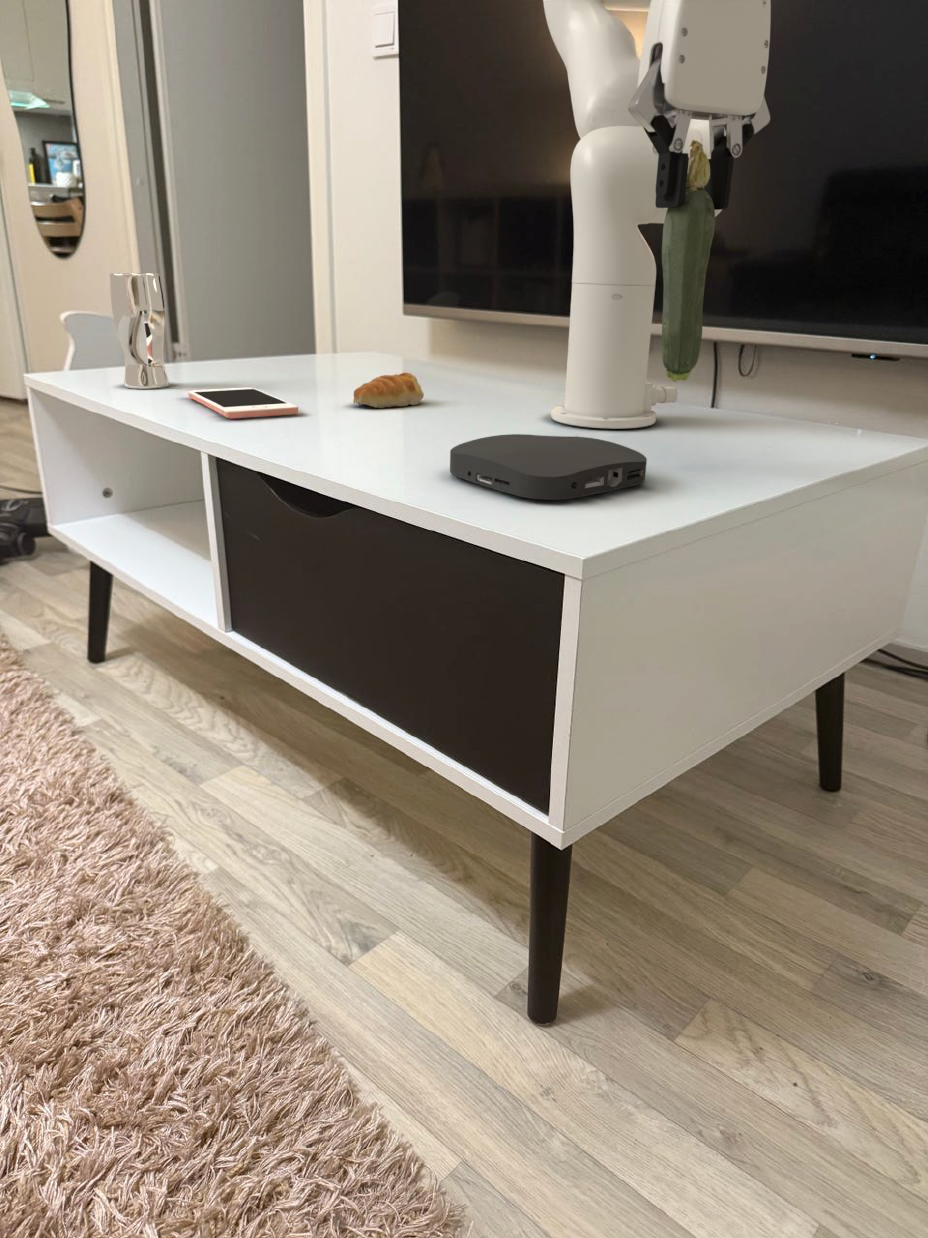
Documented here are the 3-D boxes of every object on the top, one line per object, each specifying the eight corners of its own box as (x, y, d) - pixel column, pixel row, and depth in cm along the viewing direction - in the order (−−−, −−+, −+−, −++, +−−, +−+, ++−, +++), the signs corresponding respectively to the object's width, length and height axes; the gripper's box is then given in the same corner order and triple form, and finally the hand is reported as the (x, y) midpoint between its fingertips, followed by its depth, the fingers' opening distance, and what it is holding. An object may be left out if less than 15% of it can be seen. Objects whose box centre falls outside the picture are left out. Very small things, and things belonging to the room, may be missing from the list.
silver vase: (111, 388, 126) (97, 273, 121) (136, 381, 133) (124, 272, 127) (158, 390, 125) (146, 274, 120) (181, 383, 132) (170, 273, 126)
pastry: (376, 411, 113) (376, 380, 111) (340, 405, 117) (339, 375, 115) (427, 403, 119) (427, 373, 118) (391, 398, 123) (391, 369, 122)
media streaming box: (549, 455, 91) (550, 425, 89) (663, 484, 80) (666, 450, 79) (432, 473, 82) (432, 440, 81) (542, 509, 71) (544, 472, 70)
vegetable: (697, 386, 81) (726, 134, 73) (648, 384, 82) (672, 134, 74) (695, 380, 85) (723, 140, 77) (649, 378, 86) (671, 141, 78)
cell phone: (227, 419, 105) (226, 410, 104) (187, 397, 119) (186, 390, 119) (299, 414, 109) (299, 406, 109) (252, 393, 123) (252, 386, 123)
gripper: (766, -22, 77) (737, 213, 84) (601, -52, 71) (585, 205, 77) (833, -45, 71) (796, 210, 78) (660, -81, 64) (636, 202, 71)
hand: (691, 205), depth 78 cm, fingers closed on vegetable, 4 cm apart
